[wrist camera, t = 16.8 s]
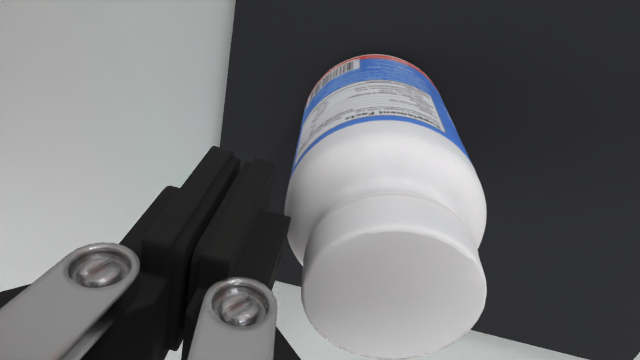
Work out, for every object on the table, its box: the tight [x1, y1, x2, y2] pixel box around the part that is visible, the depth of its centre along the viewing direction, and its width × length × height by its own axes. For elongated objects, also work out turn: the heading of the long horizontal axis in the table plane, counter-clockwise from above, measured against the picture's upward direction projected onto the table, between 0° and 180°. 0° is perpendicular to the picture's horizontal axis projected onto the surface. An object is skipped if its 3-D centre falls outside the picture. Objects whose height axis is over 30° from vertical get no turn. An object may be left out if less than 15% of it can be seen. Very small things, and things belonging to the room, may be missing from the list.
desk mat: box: [220, 0, 640, 360], centre depth 19 cm, size 22×18×1 cm
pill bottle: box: [284, 54, 487, 359], centre depth 14 cm, size 6×5×10 cm
